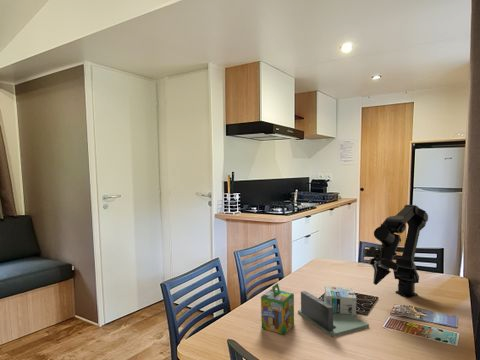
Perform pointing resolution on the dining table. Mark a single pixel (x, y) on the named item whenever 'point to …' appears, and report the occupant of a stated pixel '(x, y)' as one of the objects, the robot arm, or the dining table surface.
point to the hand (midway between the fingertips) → (374, 284)
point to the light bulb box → (341, 299)
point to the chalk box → (277, 310)
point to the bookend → (317, 310)
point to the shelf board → (342, 324)
